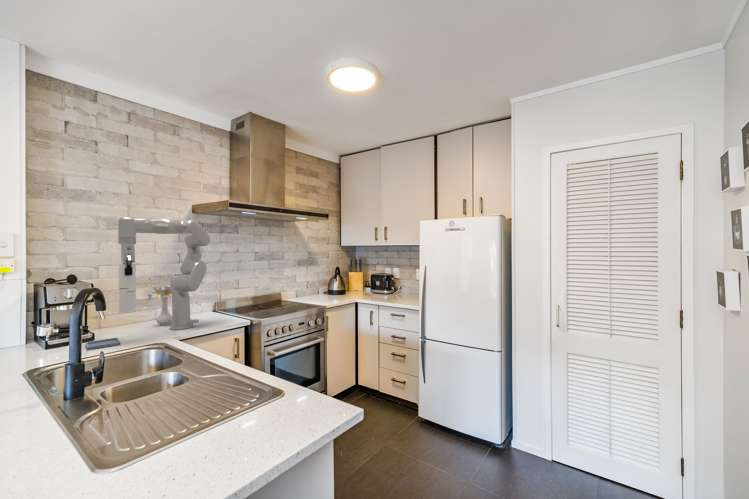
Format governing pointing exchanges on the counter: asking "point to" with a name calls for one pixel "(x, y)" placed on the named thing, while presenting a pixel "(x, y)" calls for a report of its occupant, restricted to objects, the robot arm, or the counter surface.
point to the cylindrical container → (127, 290)
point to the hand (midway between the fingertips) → (127, 275)
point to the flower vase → (163, 305)
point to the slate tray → (102, 343)
